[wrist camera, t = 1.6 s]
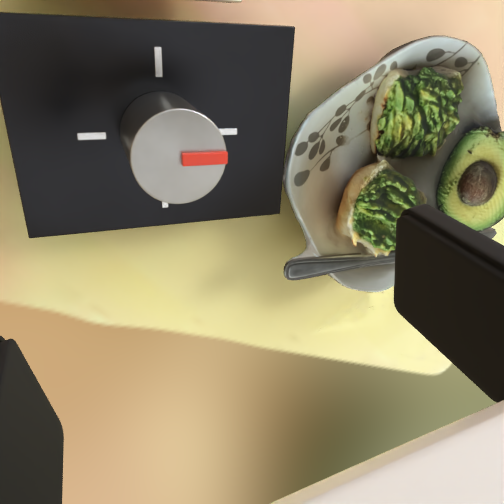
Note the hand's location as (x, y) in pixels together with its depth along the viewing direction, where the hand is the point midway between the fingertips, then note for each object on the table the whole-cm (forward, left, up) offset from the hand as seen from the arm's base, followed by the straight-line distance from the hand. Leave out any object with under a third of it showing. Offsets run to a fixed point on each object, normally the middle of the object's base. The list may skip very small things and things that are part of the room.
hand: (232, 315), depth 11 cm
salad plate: (+19, -3, -18) cm, 27 cm away
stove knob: (+1, +1, -16) cm, 16 cm away
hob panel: (+1, +1, -19) cm, 19 cm away
